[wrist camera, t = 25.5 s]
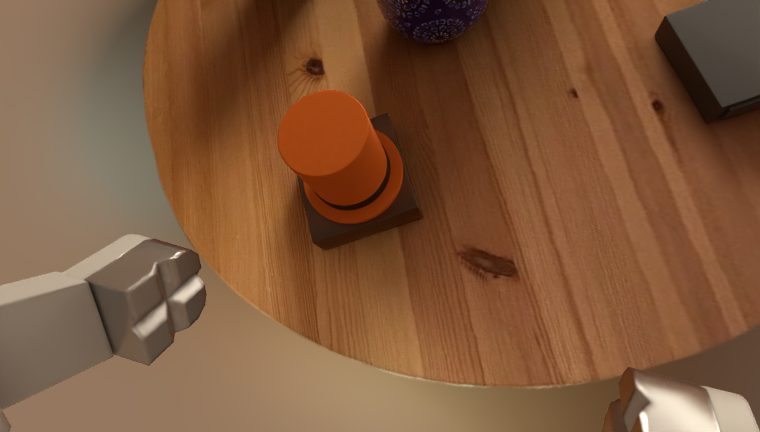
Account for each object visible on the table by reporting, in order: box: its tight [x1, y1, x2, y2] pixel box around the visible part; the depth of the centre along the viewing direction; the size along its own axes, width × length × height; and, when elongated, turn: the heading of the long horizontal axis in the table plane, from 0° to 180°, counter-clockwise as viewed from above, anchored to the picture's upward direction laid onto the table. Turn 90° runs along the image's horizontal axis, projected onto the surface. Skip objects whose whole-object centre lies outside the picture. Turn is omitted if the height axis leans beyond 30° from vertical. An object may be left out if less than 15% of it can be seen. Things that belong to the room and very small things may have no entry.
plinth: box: [297, 113, 423, 250], centre depth 40 cm, size 9×9×3 cm
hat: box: [278, 90, 403, 224], centre depth 34 cm, size 8×8×8 cm
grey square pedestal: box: [655, 0, 760, 123], centre depth 36 cm, size 9×9×2 cm
